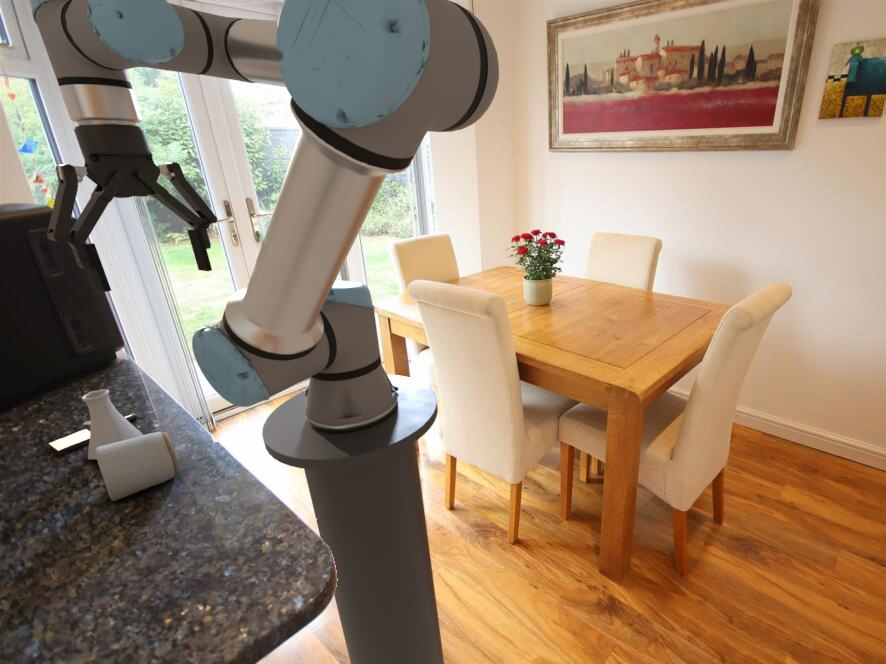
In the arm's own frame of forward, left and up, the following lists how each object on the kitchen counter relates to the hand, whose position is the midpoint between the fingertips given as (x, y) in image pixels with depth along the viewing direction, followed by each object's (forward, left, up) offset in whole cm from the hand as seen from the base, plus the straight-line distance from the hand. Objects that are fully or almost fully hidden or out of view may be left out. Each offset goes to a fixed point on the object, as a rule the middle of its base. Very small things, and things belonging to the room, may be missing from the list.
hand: (158, 279), depth 70 cm
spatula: (+10, -17, -27) cm, 33 cm away
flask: (+10, -8, -27) cm, 30 cm away
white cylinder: (+12, +6, -27) cm, 30 cm away
